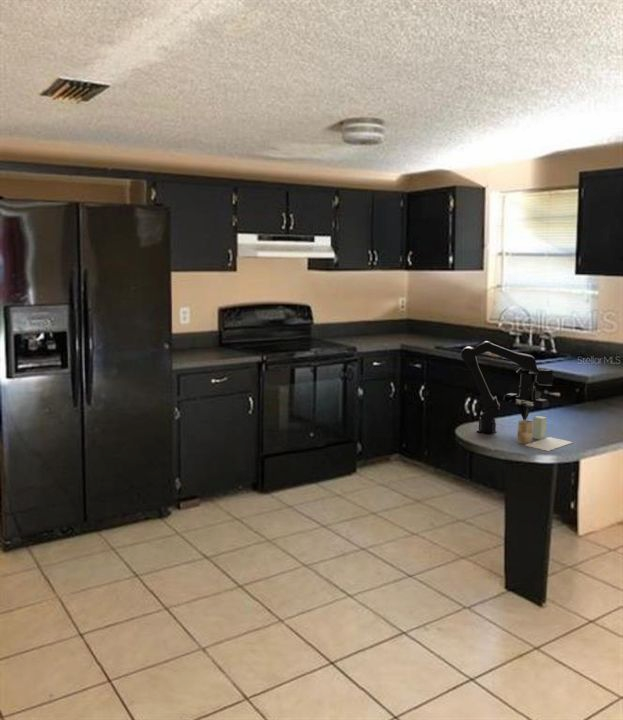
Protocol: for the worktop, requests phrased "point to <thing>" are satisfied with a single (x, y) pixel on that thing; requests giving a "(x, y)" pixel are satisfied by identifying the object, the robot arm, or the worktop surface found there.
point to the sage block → (539, 427)
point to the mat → (548, 444)
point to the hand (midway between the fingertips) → (524, 419)
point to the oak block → (524, 432)
